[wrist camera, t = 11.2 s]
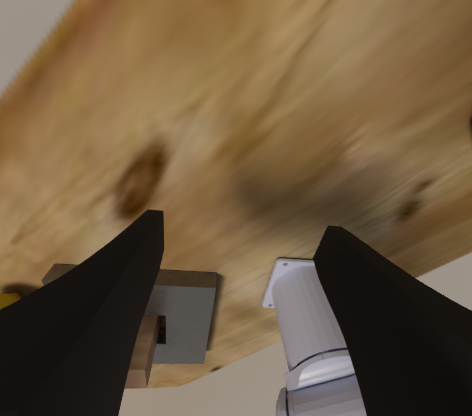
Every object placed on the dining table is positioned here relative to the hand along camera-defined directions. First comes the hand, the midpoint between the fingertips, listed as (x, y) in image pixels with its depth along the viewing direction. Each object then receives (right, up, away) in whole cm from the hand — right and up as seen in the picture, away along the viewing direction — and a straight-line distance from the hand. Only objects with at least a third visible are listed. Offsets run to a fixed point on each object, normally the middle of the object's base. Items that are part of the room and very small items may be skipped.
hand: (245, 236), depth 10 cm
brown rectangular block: (-12, -11, +18) cm, 24 cm away
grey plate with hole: (-12, -12, +18) cm, 24 cm away
